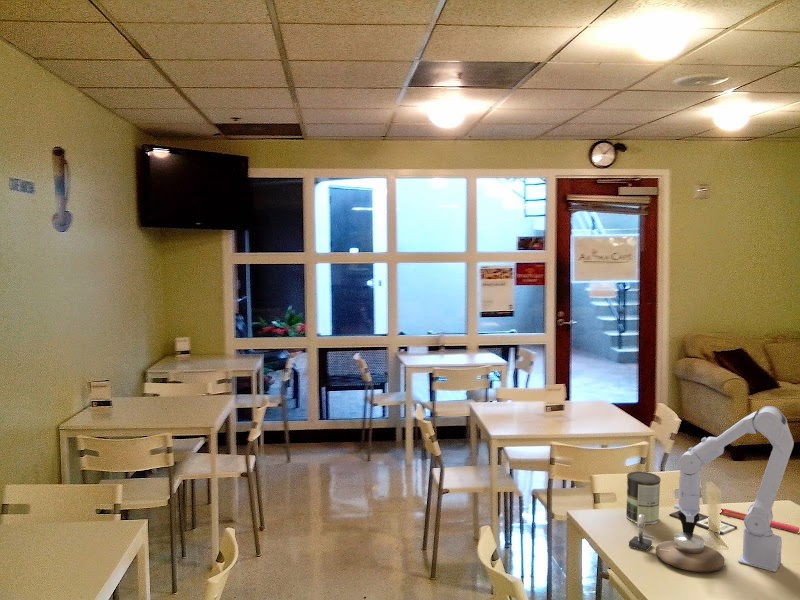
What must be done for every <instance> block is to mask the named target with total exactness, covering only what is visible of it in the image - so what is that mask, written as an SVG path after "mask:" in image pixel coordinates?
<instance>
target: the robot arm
mask: <svg viewBox="0 0 800 600" xmlns="http://www.w3.org/2000/svg"><path fill="white" fill-rule="evenodd" d="M757 412H758V413H757ZM758 432H759V433H760V434H761V435H762V436H764V437H765V438H766V439H767V440H768V442H769V443H770V444H771V446H772V450H771V452H770V456H769V458H768V461H767V465H766V468H765V471H764V473H763V476H762V479H761V481H760V482H761V483H760V486H759V489H758V490H757V494H756V497H755V500H754V503H752V504H751V505H750V506H749V508H748V510H747V513H746V514H747V515H746V517H745V519H744V520H743V524H744V526H743V534H742V535H743V540H742V554H741V555H740V556H739V558H738V559H737V562H738V563H741V564H744V565H747V566H752V567H754V568H760V569H763V570H766V571H770V572H773V573H777V571H778V569H779V567H780V565H781V564H782V543H783V539H782V536H780V535H777V534H775V533H774V531H773V530H772V528H771V526H770V523H771V521H773V518H774V515H773V506H774V503H775V501H776V498H777V494H778V492H779V488H780V486H781V483H782V480H783V477H784V475H785V472H786V468H787V466H788V462H789V460H790V458H791V457H790V456H791V454H792V451H793V449H794V443H795V441H794V439H793V435H792V433H791V431H790V427H789V424H788V419H787V417H786V416H785V415H784V413H782V411H781V410H780V409H779V408H777V407H776V406H771V405H765V406H763V407H761V408H760V409H759V410H758V411H757V410H756V411H754V412H752V413H749V414H748V415H746V416H745V417H743V418H742V419H740V420H739V421H738V422H736V423H734V424H733V425H732V426H731V427H729V428H728V429H727V430H725V431H723V432H722V433H721V434H720V435H719V436H708V437H706V436H704V437H702V438H701V440H700V441H701V442H699V443H698V444H696V445H695V446H694V447H692V446H691V447H689V448H688V449H687V450H688V451H685V452H684V453H683V454H682V455H681V456H680V458H679V459H678V462H677V465H678V467H679V477H678V478H679V479H678V481H679V482H678V503H677V504H676V503H674V505H673V507H674V509H675V510H676V509H678V510H677V511H678V515H679V518H680V519H679V520H680V522H681V526H682V527H681V528H682V532H686V533H692V534H694V531H695V527H696V523H697V522H698V520H699V514H698V513H700V511H701V508H700V499H701V497H700V494H701V468H702V466H706V465H708V464H709V463H711V462H712V461H714V460H715V459H717V458H718V457H720V456H722V455H724V453H725V452H724V451H725V447H726V446H728V445H729V444H731V443H733V442H734V441H736V440H737V439H740V437H743V436H744V435H746V434H753V435H755V434H758Z"/></svg>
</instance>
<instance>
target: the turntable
mask: <svg viewBox="0 0 800 600" xmlns="http://www.w3.org/2000/svg"><path fill="white" fill-rule="evenodd" d="M722 554H723V553H721V552H719V551H718V550H716V549H714V548H712V547H710V546H707V545H705V544H704V552H703V553H701V554H687V553H683V552H680V551H678V550H677V549H675V548H674V539H673V540H667V541H666V540H665V541H662V542H660V543H657V545H656V547H655V555H656V556H657V557H658V558H659V559H660V560H661V562H664V563H666V564H668V565H670V566H672V567H674V568H678V569H682V570H686V571H691V572H696V573H697V572H699V573H701V572H702V573H708V572H710V573H711V572H715V571H719V570H721V569H722V568H723V567H724V566H725V559H726V558H724V556H723V555H722Z"/></svg>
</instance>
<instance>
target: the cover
mask: <svg viewBox="0 0 800 600" xmlns="http://www.w3.org/2000/svg"><path fill="white" fill-rule="evenodd" d="M673 540H674V548H675V549H677V550H678V551H680V552H683V553H687V554H701V553H703V552H704V545H705V539H704V537H702V536H700V535H698V534H696V533H693V534H692V533H686V532H683V531H682V532H677V533H675V534H674V536H673Z"/></svg>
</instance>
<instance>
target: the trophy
mask: <svg viewBox="0 0 800 600" xmlns="http://www.w3.org/2000/svg"><path fill="white" fill-rule="evenodd" d="M645 525H646V524H645V515H642V514H640V515H639V516H638V519H637V523H636V526H637V528H638V536H637V535H635V536H633V537H632V538H631V539H630V540H629V541H628V547H629V546H631V547H630V548H633V547H635V548H634V549H636V548H638V549H637V550H640V549H642V550H641V551H643V550H645V551H644V552H646V550H647V549H648V548H649V547H650V546H651V545H652V546H653V540H655V536H652V535H649V534H645V533H644V528H645ZM647 538H648V539H647ZM652 546H651V547H652ZM651 547H650V548H651ZM650 548H649V549H650ZM649 549H648V550H649Z"/></svg>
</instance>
